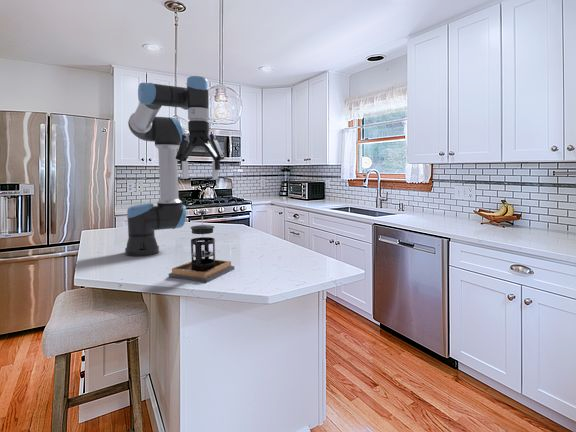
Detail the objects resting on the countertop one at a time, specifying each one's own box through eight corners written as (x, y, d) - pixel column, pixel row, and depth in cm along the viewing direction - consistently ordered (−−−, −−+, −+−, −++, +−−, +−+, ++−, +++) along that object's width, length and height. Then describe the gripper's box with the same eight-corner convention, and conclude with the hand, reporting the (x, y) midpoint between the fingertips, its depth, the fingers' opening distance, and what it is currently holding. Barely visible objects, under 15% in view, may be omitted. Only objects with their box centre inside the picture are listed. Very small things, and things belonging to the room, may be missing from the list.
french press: (196, 265, 145) (194, 209, 142) (219, 266, 144) (218, 209, 141) (185, 273, 133) (183, 212, 130) (210, 274, 132) (209, 213, 130)
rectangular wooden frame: (168, 277, 133) (168, 268, 133) (199, 264, 151) (199, 257, 150) (206, 282, 127) (206, 273, 127) (234, 269, 144) (234, 261, 144)
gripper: (164, 121, 133) (166, 178, 135) (222, 118, 123) (223, 179, 126) (178, 123, 140) (179, 178, 142) (233, 120, 130) (234, 179, 133)
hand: (200, 178), depth 134 cm, fingers open, 13 cm apart
